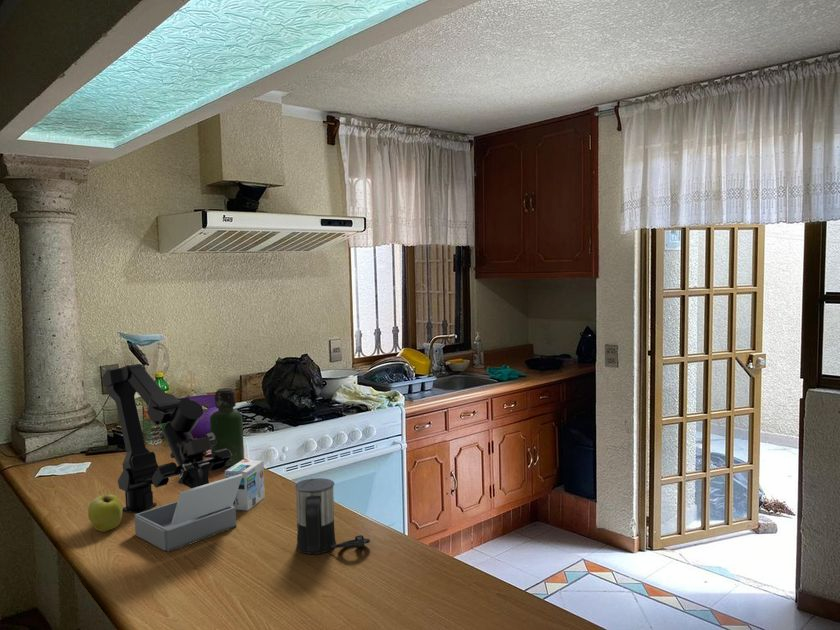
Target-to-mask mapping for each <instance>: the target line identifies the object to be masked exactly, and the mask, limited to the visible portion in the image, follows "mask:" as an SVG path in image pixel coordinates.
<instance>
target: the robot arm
mask: <svg viewBox="0 0 840 630" xmlns="http://www.w3.org/2000/svg"><path fill="white" fill-rule="evenodd" d="M101 378H102V379H101V382H102V385H103V387H104V388H105V392H106V394H107V395H108V396H109V397H110V398H111V399H112V400H113V401H114V402H115V405H116V410H117V413H118V414H117V415H118V418H119V419H118V420H119V424H120V429H121V433H122V437H123V442H124V446H125V447H124V448H125V452H126V453H125V456H124V459H123V462H122V472H121V474H120V475H119V478H118V479H117V485H118V489H120V490H122V491H124V494H125V495H124V496H125V506H124V507H122V508H123V512H127V513H128V512H130V513H134V514H138V513H141V512H144V511H148V510H150V509H152V508H154V507H156V506H157V503H156V502H154V493H153V491H152V490H153V489H152V485H153V487H154V488H160V487H164V486H166V485H168V484H169V481H170V478H172V477H175V476H178V477H179V479H178V481H177V482H178V484H179V485H181V484H183V485H185V486H186V487H188V488H189V489H192V488H195V487H199V486H202V485H205V484H209V483H210V482H209V481H210V478H209V476H210V474H209V473H210V471H212V472H216V471H220V470H223V469H224V468H226V467H225V466H226V465H227V463H228V462H229V461H230V459H231V458H232V454H231V452H230V450H229V449H226V448H225V449H221V450H217V451H214V452H213V453H212V455H211V454H210V456H209V457H208V458H204V457H206V456H207V454H208V451H211V449H212V446H214V445H216V444H217V440H216V437H215V435H214V434H213V432H212V433H210V432H208V433H206V434H204V435H203V437H200V438H197V437H193V435H192V433H191V432H193V430H194V429H195V427H196V426H197V425H198V423H199V421H200V420H201V418H202V416H203V415H204V408H203V405H201V404H200V403H198V402H196V401H195V400H191V399H190V397H189V396H185V397H181V398H180V399H179V398H177V397H176V396H175V395H174V394H171V393H167V392H165V391H163V389H162V388H161V386H159V384H157V382H156V381H155V380H154V379H153V378H152V376H151V375H150V374H149V373H148V371H147V370H146V367H145V365H144V364H142V363H136V364H135V363H133V364H127V365H125V366H122V367H116V368H108V369H106V370H105V373H103V374H102V377H101ZM136 393H137V394H138V396H140V398H141V399H142V400H143V402H144V403H145V404H146V405H147V406H146V407H147V411H146V412H147V413H146V414H147V415H148V417H149V419H150V421H151V422H152V423H153V424H154V425H155V426H158V425H164V424H165V426H164V427H162V431H161V434H160V439H161V440H166V442H167V444H168V447H169V448H170V451H171V453H170V458H171V459H175V461H176V462H174V461H173V462H168V463H164V464H161V465H159V464H158V462H157V457H156V453H155V452H154V451H150V450H149V449H148V448H147V446H146V443H145V439H144V438H145V437H144V434H143V430H142V425H141V421H140V417H139V412H138V411H139V410H138V408H137V404H136V397H135V395H136Z"/></svg>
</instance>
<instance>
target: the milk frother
mask: <svg viewBox="0 0 840 630" xmlns="http://www.w3.org/2000/svg"><path fill="white" fill-rule="evenodd" d="M334 486H335V481H334V480H332V479H329V478H323V477H322V478H320V477H319V478H318V477H317V478H307V479H303V480H301V481H298V482H296V483H295V485H294V488H295V489H296V491H295V492H296V495H295V496H296V497H295V498H296V519H297V520H296V528H297V530H296V531H297V535H296V540H297V541H296V542H297V543H296V549H297V551H299V552H301V553H303V554H309V555H312V554H314V555H315V554H324V553H326V552H329V551H331V550H333V549H337V548H348V547H356V548H358V549H359V548H363V547H364V546H365V544H369V543H370V542H371V540H370V538H364V535H361V534H360V535H355V537H354V539H350V540H345V541H342V542H339V543H337V540H336V534H335V533H336V531H335V510H334V509H335V508H334V507H335V505H334V504H335V503H334V502H335V501H334V499H335V498H334Z"/></svg>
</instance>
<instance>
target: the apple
mask: <svg viewBox="0 0 840 630" xmlns="http://www.w3.org/2000/svg"><path fill="white" fill-rule="evenodd" d="M98 493H99V494H100V495H99V496H97V497H95V498H94V499H92V501H91V502H90V504H89V506H88V508H87V509H88V510H87V515H88V516H87V517H88V520H89V521H90V523H91V524H92V526H93V527H94V529H96V530H97V531H99V532H104V533H105V532H109V531H110V530H113V529H115V528H116V527H118V526H119V525H120V524H121V520H122V518H123V512H124V511H123V508H124V507H123V503H122V500H121V499H120V498H119V497H118V496H117V495H115V494H112V493H111V494H110V493H108V494H101V491H99V492H98Z"/></svg>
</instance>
